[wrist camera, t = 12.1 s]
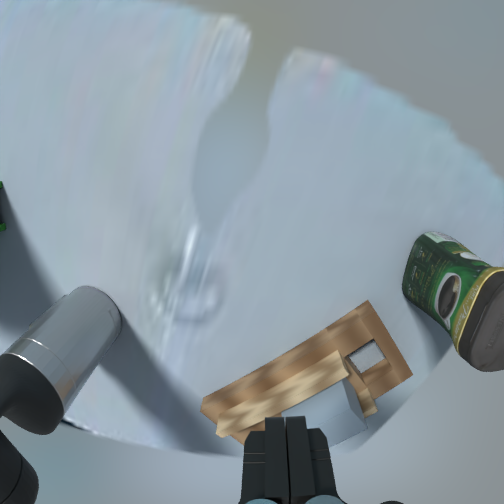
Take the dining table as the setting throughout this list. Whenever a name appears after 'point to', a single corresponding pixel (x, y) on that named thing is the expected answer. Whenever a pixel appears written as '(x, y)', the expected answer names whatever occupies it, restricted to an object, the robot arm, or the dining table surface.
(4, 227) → the hardback book
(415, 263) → the coffee jar
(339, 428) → the block
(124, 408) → the dining table surface
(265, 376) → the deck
